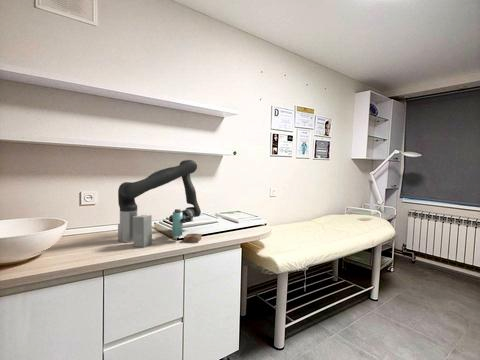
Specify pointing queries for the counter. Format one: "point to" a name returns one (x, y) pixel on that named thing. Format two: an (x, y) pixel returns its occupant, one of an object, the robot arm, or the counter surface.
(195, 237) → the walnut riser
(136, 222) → the skincare box
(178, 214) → the teal bottle
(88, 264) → the counter surface
